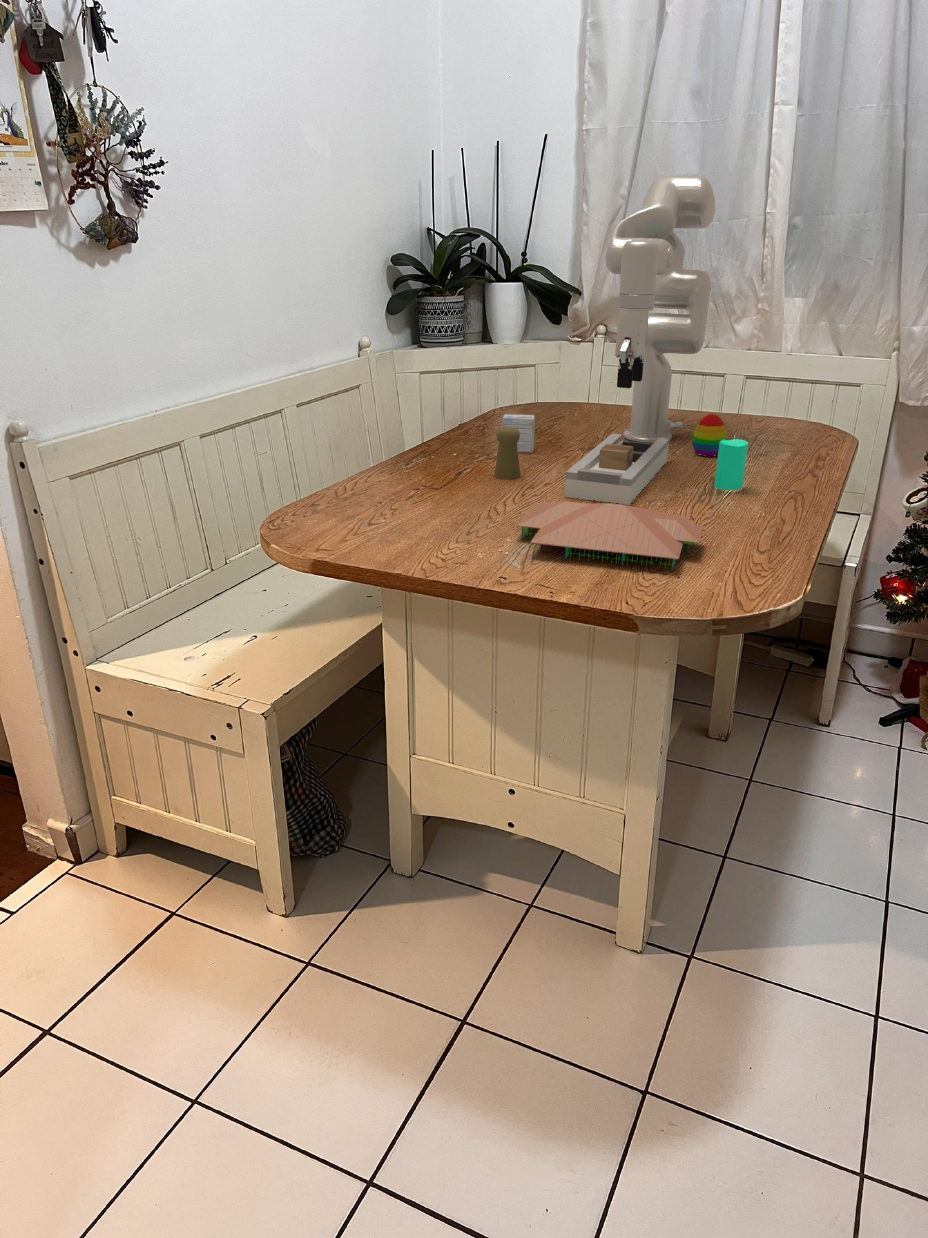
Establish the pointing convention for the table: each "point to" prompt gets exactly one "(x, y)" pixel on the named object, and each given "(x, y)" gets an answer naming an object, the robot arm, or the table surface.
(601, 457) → the walnut block
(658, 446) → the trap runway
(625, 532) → the house
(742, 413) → the table surface
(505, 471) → the olive pawn
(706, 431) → the decorative egg
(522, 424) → the medicine box
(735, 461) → the candle
